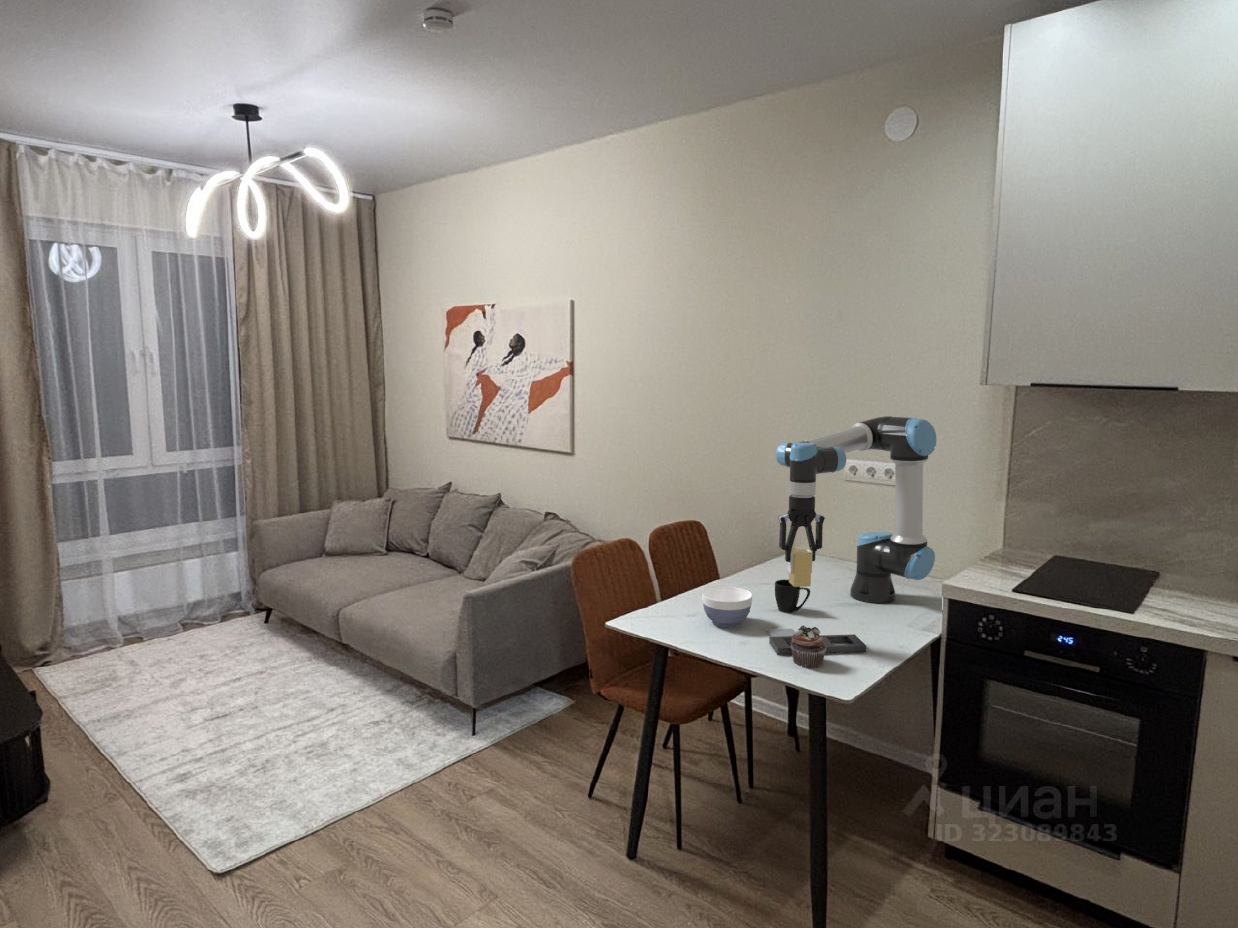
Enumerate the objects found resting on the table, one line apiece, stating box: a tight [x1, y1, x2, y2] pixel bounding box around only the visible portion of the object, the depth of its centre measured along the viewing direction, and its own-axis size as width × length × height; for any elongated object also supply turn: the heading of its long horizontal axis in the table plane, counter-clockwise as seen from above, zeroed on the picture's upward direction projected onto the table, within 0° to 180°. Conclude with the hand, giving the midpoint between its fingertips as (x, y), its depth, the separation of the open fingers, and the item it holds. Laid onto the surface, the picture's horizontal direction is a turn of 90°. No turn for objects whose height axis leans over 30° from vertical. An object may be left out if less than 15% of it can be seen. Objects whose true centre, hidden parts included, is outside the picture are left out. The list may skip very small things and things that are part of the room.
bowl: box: [701, 586, 753, 629], centre depth 241 cm, size 16×16×10 cm
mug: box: [774, 579, 811, 614], centre depth 252 cm, size 8×12×10 cm
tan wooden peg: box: [788, 548, 812, 588], centre depth 225 cm, size 5×5×10 cm
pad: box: [766, 628, 796, 637], centre depth 231 cm, size 8×8×1 cm
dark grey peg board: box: [768, 634, 867, 656], centre depth 220 cm, size 26×9×2 cm, turn 94°
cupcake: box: [790, 624, 826, 669], centre depth 210 cm, size 10×10×10 cm
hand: (799, 571), depth 225 cm, fingers closed on tan wooden peg, 5 cm apart
